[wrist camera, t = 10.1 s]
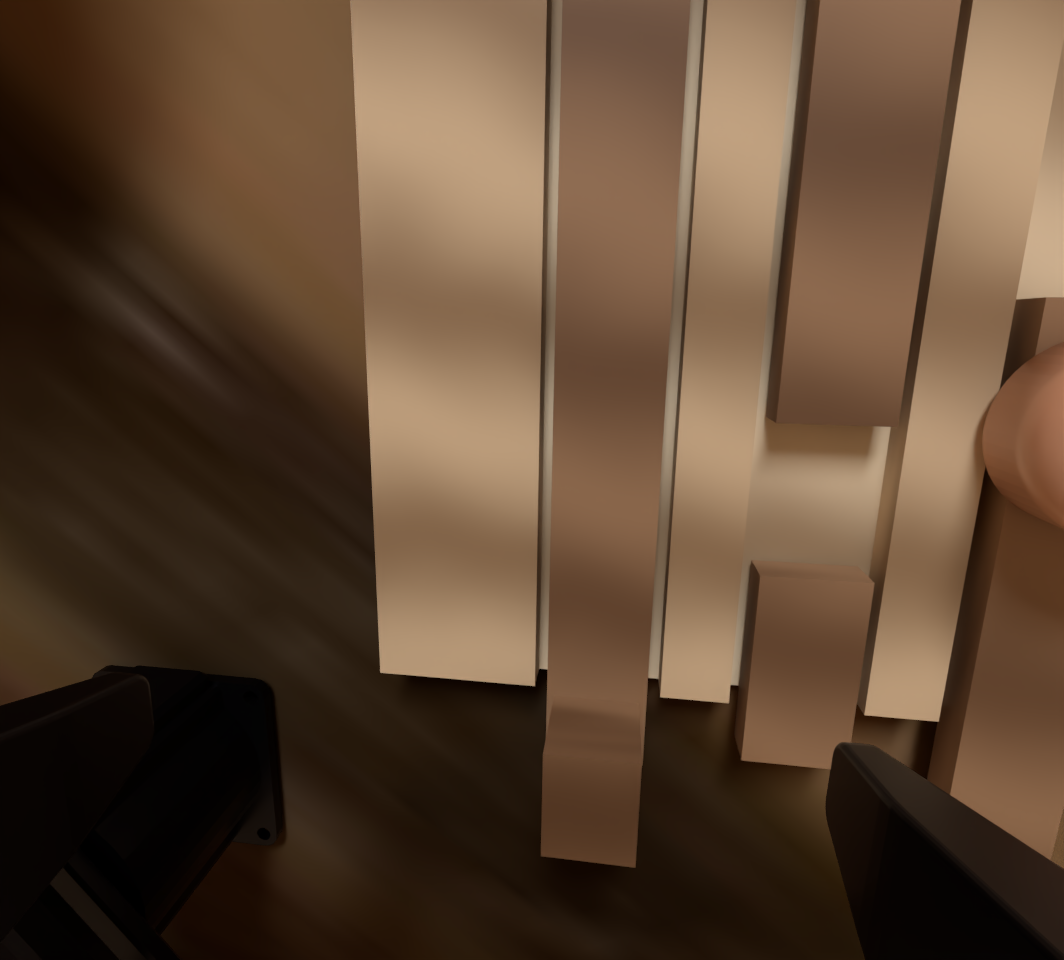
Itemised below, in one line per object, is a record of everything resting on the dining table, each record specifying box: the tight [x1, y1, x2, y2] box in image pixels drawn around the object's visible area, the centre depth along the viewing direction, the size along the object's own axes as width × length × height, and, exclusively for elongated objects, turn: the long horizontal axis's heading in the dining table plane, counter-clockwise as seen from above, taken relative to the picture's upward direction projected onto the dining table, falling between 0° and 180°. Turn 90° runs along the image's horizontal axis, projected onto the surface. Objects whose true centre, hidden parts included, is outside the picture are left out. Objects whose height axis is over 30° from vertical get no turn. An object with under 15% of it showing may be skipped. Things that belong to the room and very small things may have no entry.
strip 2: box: [927, 297, 1064, 860], centre depth 16 cm, size 22×3×4 cm, turn 179°
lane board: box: [350, 0, 1064, 769], centre depth 16 cm, size 22×24×2 cm
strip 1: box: [541, 0, 691, 868], centre depth 16 cm, size 22×3×4 cm, turn 179°
